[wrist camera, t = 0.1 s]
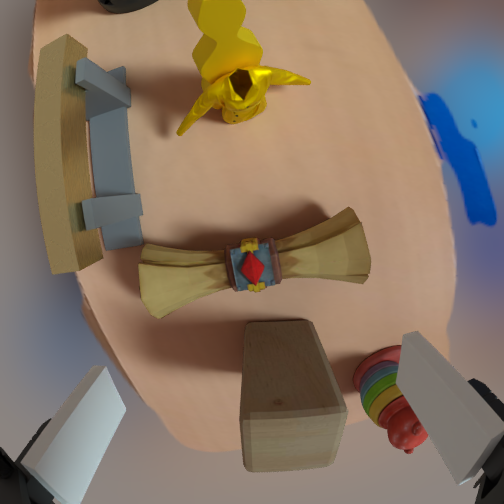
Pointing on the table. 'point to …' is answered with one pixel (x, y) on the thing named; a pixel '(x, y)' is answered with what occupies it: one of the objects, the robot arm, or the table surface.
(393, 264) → the table surface
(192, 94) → the table surface
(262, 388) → the wooden block
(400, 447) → the stacking bear
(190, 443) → the table surface
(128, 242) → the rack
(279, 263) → the scroll
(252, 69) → the figure statuette
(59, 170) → the rail
